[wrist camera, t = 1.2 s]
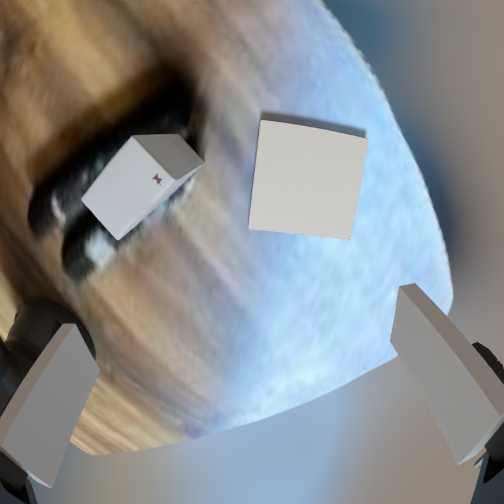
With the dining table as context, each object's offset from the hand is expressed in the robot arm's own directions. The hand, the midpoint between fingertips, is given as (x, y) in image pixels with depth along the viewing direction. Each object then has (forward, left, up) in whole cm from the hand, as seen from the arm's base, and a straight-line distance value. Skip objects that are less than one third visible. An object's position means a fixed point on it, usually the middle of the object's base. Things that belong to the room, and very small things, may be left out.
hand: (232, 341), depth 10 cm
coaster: (+7, +4, -21) cm, 22 cm away
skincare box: (-7, +4, -21) cm, 22 cm away
